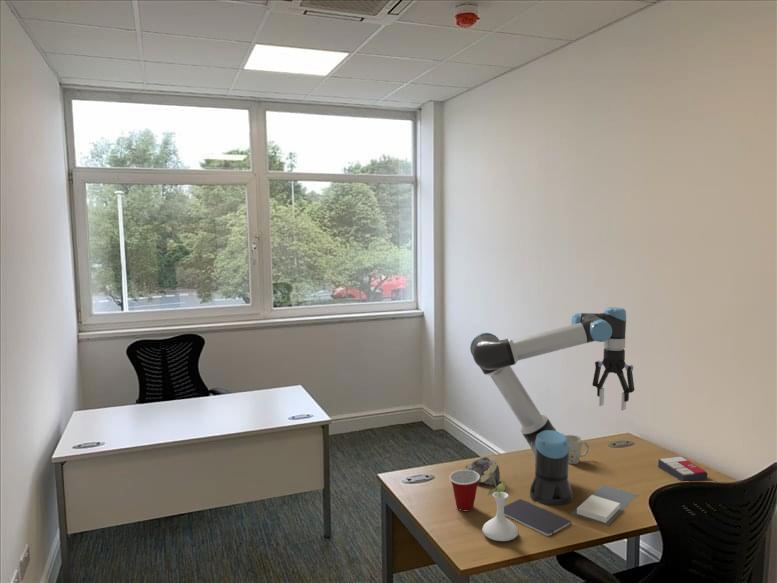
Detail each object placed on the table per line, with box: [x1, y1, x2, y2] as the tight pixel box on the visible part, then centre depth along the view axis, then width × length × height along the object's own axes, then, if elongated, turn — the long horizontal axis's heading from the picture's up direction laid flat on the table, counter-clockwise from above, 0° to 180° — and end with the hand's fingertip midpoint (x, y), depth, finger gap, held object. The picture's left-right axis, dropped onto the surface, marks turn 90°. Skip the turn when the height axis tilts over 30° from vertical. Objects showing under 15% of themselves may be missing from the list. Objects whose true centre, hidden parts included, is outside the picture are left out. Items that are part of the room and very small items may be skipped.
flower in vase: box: [479, 461, 519, 542], centre depth 188 cm, size 13×11×25 cm
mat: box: [570, 484, 638, 527], centre depth 209 cm, size 13×29×1 cm, turn 139°
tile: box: [576, 494, 620, 523], centre depth 203 cm, size 10×2×13 cm
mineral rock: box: [464, 456, 501, 486], centre depth 229 cm, size 13×11×10 cm
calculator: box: [657, 456, 708, 482], centre depth 235 cm, size 11×4×15 cm
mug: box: [564, 434, 590, 465], centre depth 248 cm, size 8×13×10 cm, turn 107°
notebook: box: [504, 498, 572, 537], centre depth 200 cm, size 13×2×21 cm
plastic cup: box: [448, 469, 480, 511], centre depth 207 cm, size 11×11×12 cm
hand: (612, 407), depth 223 cm, fingers open, 8 cm apart
